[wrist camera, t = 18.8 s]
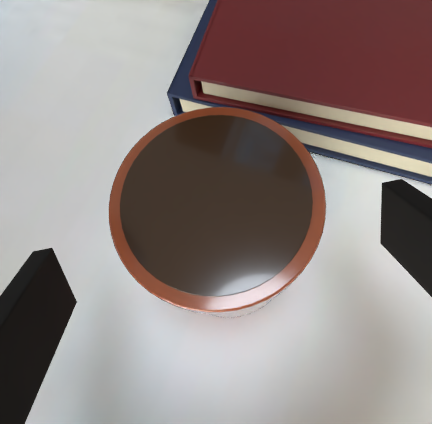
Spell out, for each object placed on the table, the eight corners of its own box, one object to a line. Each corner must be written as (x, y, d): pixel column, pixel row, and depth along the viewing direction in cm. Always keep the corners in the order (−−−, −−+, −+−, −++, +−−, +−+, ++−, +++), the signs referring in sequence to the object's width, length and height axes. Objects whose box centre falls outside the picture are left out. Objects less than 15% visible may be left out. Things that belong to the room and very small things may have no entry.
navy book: (174, 115, 26) (166, 93, 24) (238, -31, 30) (238, -63, 28) (498, 202, 22) (530, 186, 20) (522, 20, 26) (550, -12, 24)
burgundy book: (193, 98, 23) (188, 75, 21) (249, -52, 27) (249, -84, 25) (528, 168, 20) (561, 150, 18) (537, -14, 24) (564, -47, 22)
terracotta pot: (146, 295, 22) (69, 266, 13) (191, 181, 24) (155, 84, 15) (270, 341, 21) (291, 348, 11) (307, 216, 23) (350, 132, 13)
